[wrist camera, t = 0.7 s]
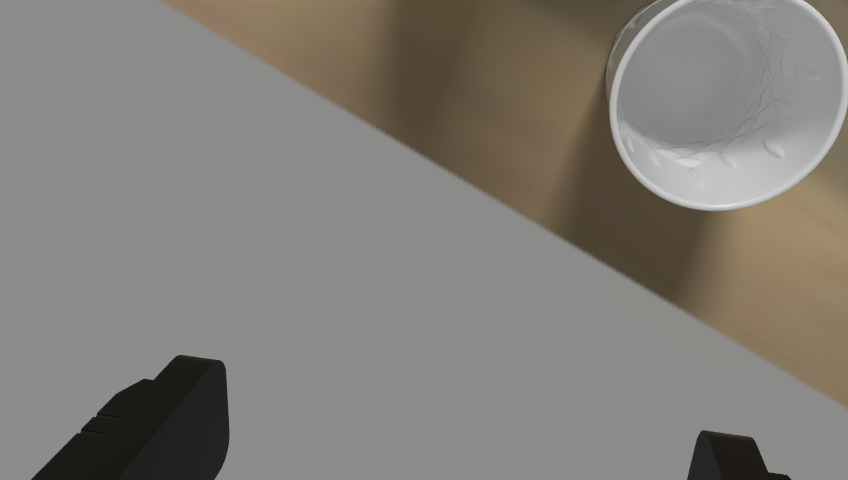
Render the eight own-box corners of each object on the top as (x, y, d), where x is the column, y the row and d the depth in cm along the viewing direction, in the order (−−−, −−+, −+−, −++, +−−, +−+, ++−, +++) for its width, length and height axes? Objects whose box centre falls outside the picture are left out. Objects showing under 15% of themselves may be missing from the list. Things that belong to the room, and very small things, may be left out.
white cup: (561, 50, 35) (565, 80, 26) (709, -59, 32) (773, -70, 23) (651, 178, 36) (685, 250, 27) (800, 84, 34) (894, 128, 24)
